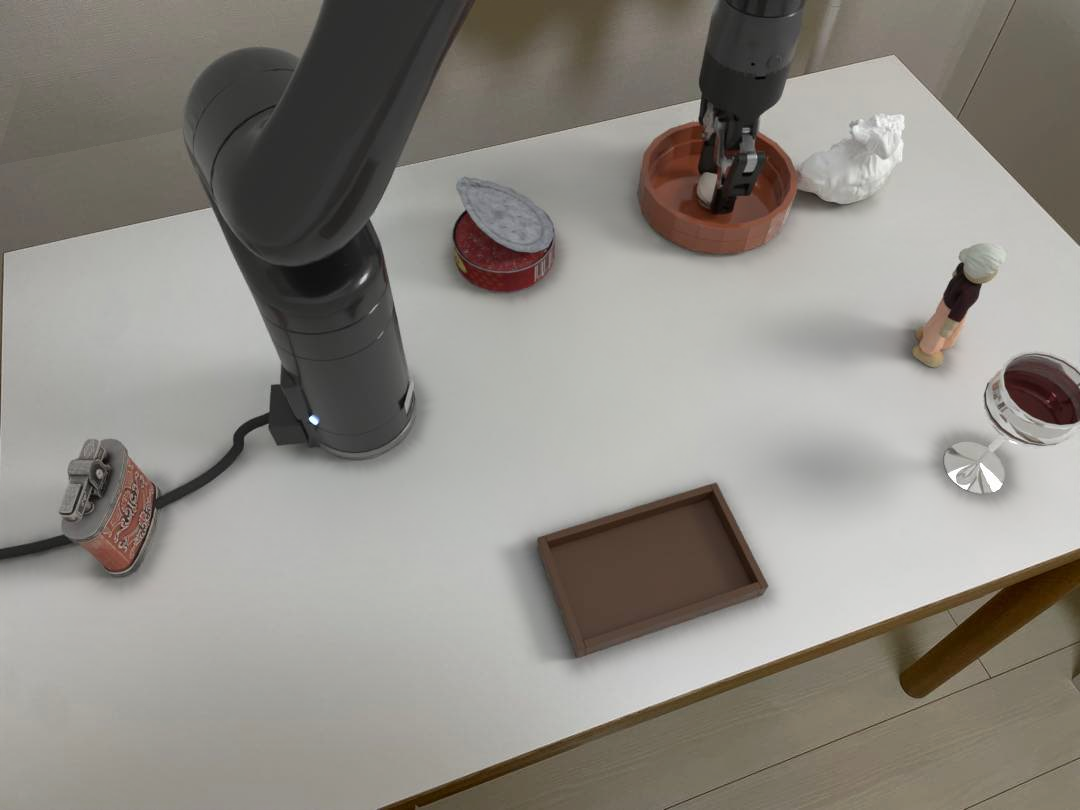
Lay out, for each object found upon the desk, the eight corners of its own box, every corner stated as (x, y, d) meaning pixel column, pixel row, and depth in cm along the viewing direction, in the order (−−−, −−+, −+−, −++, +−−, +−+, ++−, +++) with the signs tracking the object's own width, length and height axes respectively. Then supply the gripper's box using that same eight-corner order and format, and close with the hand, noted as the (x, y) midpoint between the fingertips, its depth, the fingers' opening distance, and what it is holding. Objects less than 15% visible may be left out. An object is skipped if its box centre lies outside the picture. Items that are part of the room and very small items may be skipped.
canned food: (477, 254, 89) (482, 159, 84) (566, 274, 87) (577, 177, 82) (426, 288, 80) (428, 183, 75) (524, 312, 77) (533, 204, 72)
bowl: (652, 263, 83) (657, 234, 80) (625, 156, 91) (629, 125, 88) (804, 250, 84) (816, 222, 81) (765, 146, 92) (773, 115, 89)
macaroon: (703, 219, 85) (708, 201, 83) (683, 186, 88) (687, 167, 86) (742, 209, 86) (747, 191, 84) (721, 177, 89) (725, 158, 87)
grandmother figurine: (953, 379, 76) (1023, 287, 65) (909, 372, 76) (972, 279, 66) (948, 314, 80) (1013, 216, 69) (907, 307, 80) (965, 209, 70)
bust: (787, 221, 89) (850, 203, 78) (769, 150, 88) (830, 121, 77) (884, 193, 92) (958, 171, 81) (867, 123, 91) (940, 92, 80)
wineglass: (1013, 514, 69) (1097, 440, 59) (928, 488, 70) (996, 411, 60) (1018, 446, 72) (1098, 365, 62) (937, 422, 73) (1002, 339, 63)
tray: (576, 658, 62) (578, 650, 60) (536, 547, 67) (537, 537, 65) (762, 595, 65) (768, 586, 63) (712, 493, 69) (716, 481, 68)
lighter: (128, 483, 69) (72, 420, 61) (169, 484, 69) (119, 421, 61) (97, 577, 65) (33, 522, 57) (141, 578, 65) (83, 524, 57)
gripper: (690, -4, 76) (664, 147, 90) (727, 100, 68) (693, 246, 82) (771, -9, 76) (733, 142, 90) (818, 94, 69) (768, 240, 83)
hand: (714, 191), depth 86 cm, fingers closed on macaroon, 5 cm apart
